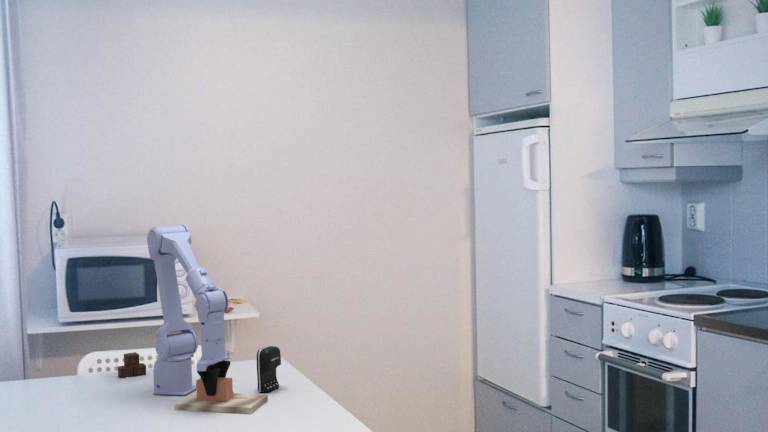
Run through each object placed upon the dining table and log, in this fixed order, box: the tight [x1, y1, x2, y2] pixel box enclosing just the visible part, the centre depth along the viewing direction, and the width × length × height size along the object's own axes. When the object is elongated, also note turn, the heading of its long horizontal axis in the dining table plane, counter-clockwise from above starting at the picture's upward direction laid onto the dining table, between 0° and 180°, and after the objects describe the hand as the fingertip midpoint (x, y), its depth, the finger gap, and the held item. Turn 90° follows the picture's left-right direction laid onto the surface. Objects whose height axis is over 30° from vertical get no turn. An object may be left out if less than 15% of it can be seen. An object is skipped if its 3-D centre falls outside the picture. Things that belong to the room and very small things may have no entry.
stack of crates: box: [117, 352, 147, 379], centre depth 230 cm, size 15×15×7 cm
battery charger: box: [256, 345, 282, 393], centre depth 210 cm, size 7×4×11 cm, turn 154°
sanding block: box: [195, 377, 234, 402], centre depth 197 cm, size 8×4×5 cm, turn 77°
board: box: [173, 391, 269, 415], centre depth 197 cm, size 20×11×2 cm, turn 77°
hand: (214, 392), depth 197 cm, fingers closed on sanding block, 4 cm apart
